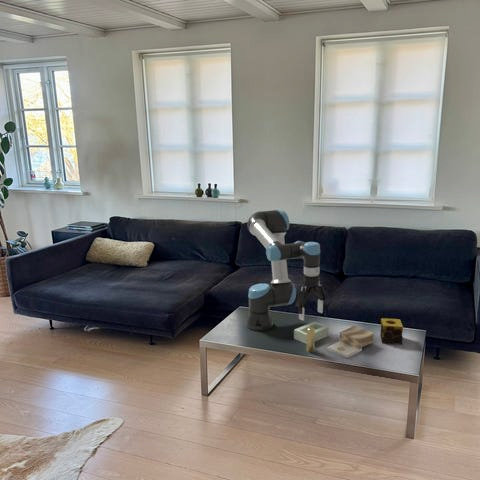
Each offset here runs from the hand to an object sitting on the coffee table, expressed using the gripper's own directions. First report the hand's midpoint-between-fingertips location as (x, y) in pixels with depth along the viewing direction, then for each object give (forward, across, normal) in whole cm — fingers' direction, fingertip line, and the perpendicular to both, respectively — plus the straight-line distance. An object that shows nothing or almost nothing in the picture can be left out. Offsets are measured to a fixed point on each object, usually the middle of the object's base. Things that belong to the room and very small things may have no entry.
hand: (310, 316), depth 222 cm
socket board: (+18, +12, +10) cm, 24 cm away
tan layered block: (+17, +23, -11) cm, 30 cm away
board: (+18, +13, -11) cm, 25 cm away
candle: (+19, +40, -20) cm, 48 cm away
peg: (+18, 0, 0) cm, 18 cm away
